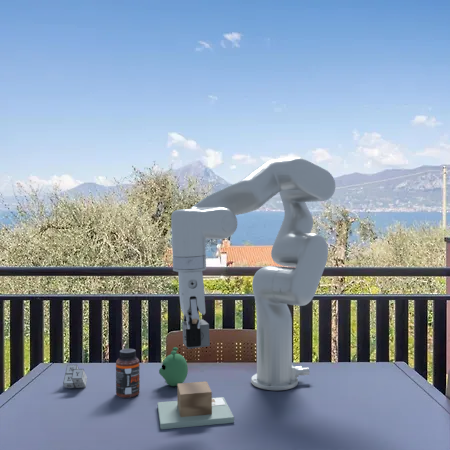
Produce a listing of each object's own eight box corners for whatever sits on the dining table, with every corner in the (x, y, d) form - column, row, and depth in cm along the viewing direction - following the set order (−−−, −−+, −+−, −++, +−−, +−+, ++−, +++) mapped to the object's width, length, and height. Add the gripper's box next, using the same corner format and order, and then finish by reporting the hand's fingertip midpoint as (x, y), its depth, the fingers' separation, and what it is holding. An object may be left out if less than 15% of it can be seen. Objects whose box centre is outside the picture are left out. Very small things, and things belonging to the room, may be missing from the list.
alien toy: (160, 381, 131) (160, 345, 131) (188, 380, 131) (188, 344, 131) (157, 390, 124) (157, 352, 124) (187, 390, 124) (186, 352, 124)
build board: (223, 401, 116) (223, 396, 116) (234, 422, 104) (234, 416, 104) (157, 407, 113) (157, 401, 113) (160, 429, 101) (160, 423, 101)
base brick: (207, 402, 113) (206, 381, 113) (211, 414, 106) (211, 392, 106) (177, 404, 111) (177, 383, 111) (180, 417, 105) (180, 394, 104)
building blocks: (67, 392, 129) (60, 378, 123) (71, 373, 132) (65, 359, 126) (87, 392, 129) (81, 378, 123) (90, 373, 132) (85, 359, 127)
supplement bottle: (134, 399, 118) (133, 354, 118) (112, 398, 119) (111, 353, 119) (143, 391, 124) (142, 347, 124) (121, 389, 125) (121, 346, 125)
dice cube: (188, 348, 106) (187, 326, 105) (183, 343, 110) (182, 321, 110) (209, 346, 107) (208, 324, 107) (203, 340, 112) (202, 319, 112)
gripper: (211, 267, 100) (214, 352, 101) (200, 258, 117) (203, 331, 118) (176, 269, 99) (179, 355, 99) (170, 260, 116) (172, 334, 116)
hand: (192, 341), depth 109 cm, fingers closed on dice cube, 5 cm apart
